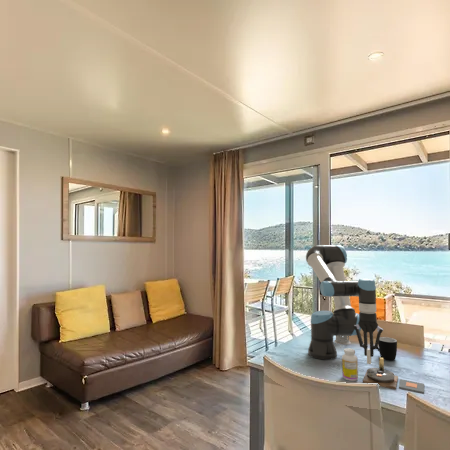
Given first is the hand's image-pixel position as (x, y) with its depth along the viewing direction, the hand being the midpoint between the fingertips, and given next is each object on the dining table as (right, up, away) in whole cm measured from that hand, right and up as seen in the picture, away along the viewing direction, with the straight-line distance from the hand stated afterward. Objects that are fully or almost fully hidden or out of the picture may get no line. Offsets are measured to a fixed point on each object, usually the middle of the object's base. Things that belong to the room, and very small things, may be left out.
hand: (369, 363), depth 149 cm
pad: (+12, -5, -13) cm, 18 cm away
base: (+2, -5, -6) cm, 8 cm away
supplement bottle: (-11, -5, -4) cm, 13 cm away
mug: (+18, -7, +21) cm, 29 cm away
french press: (+6, -8, +49) cm, 50 cm away
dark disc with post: (+2, -4, -6) cm, 7 cm away
